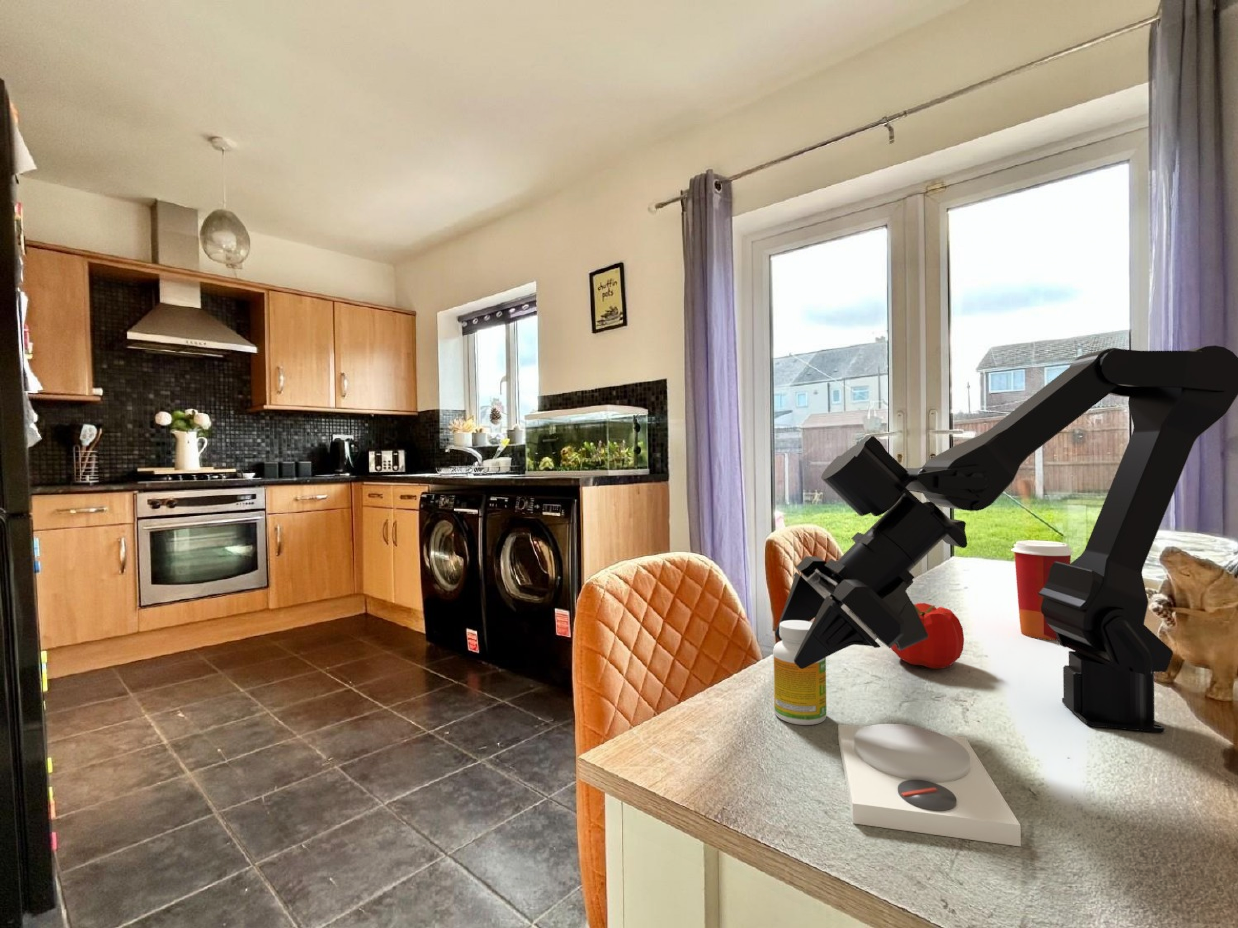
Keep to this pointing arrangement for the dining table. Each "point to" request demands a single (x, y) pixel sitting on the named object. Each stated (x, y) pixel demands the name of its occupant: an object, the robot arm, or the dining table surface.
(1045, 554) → the paper cup
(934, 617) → the tomato
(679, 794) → the dining table surface
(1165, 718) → the dining table surface
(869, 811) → the kitchen scale
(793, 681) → the supplement bottle
